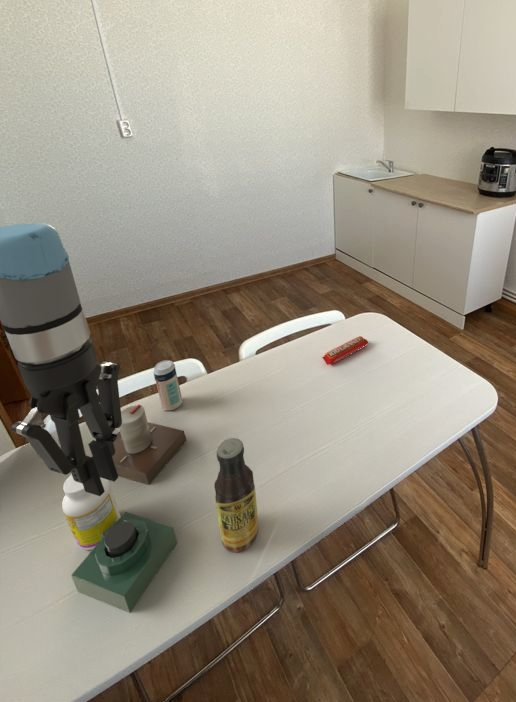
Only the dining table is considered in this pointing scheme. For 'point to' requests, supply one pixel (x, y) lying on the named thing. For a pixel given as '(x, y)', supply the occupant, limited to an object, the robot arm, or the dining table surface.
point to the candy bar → (344, 350)
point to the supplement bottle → (89, 512)
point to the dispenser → (126, 564)
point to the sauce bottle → (235, 497)
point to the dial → (135, 429)
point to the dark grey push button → (120, 539)
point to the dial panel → (148, 454)
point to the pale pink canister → (167, 385)
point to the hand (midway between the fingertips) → (102, 484)
